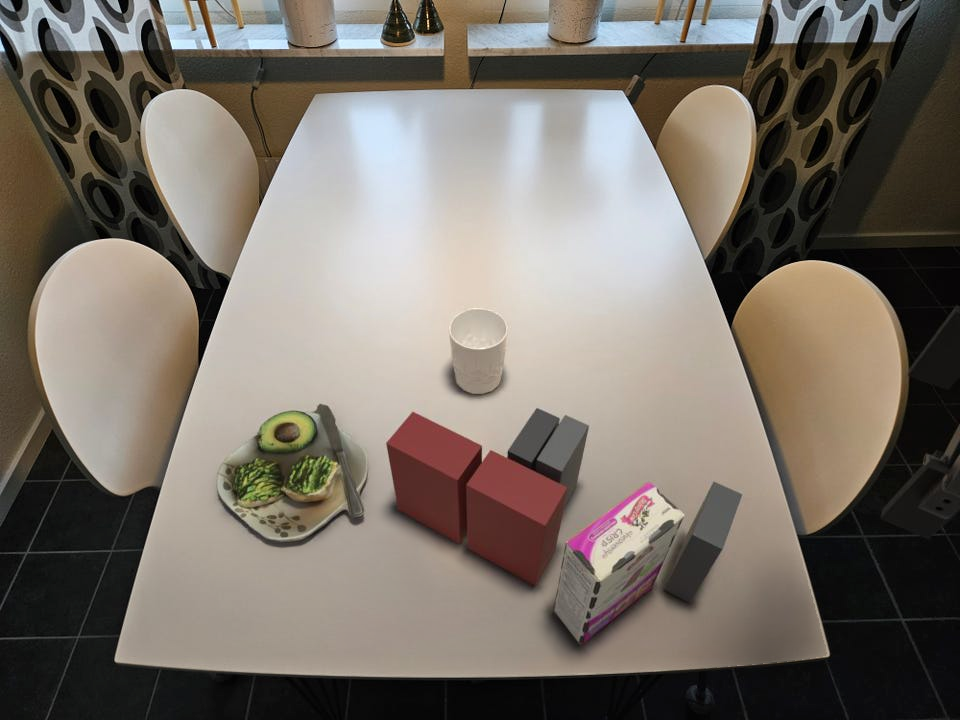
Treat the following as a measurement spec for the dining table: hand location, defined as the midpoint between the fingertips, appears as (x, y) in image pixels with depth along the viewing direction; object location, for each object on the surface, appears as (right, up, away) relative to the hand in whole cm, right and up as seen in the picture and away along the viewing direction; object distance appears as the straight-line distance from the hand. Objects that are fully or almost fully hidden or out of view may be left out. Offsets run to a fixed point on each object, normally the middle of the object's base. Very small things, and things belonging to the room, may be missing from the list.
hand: (917, 445), depth 44 cm
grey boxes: (-15, -14, +34) cm, 40 cm away
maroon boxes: (-30, -14, +34) cm, 47 cm away
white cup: (-30, +3, +50) cm, 58 cm away
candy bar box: (-16, -21, +28) cm, 39 cm away
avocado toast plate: (-53, -9, +39) cm, 66 cm away
